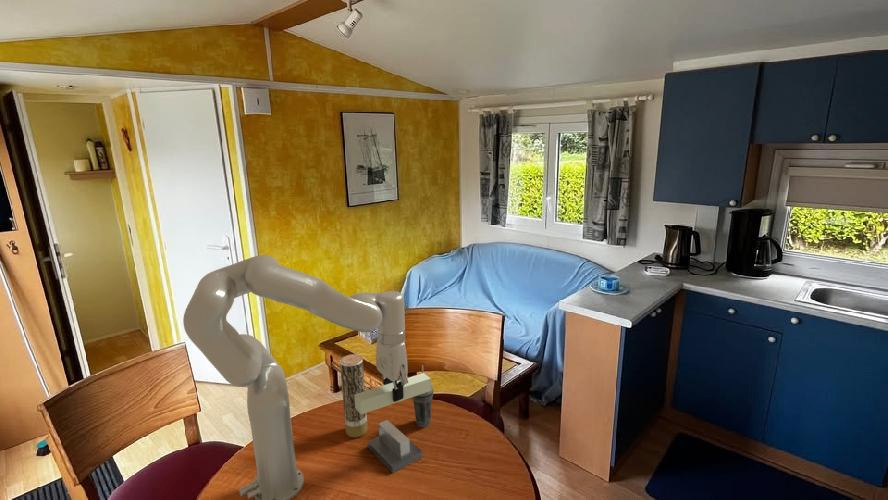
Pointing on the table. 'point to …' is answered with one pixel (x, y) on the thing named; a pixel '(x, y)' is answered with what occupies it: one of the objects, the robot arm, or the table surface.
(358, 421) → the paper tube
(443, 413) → the table surface
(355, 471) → the table surface
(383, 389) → the batten
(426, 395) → the beverage cup
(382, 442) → the ridge stand
